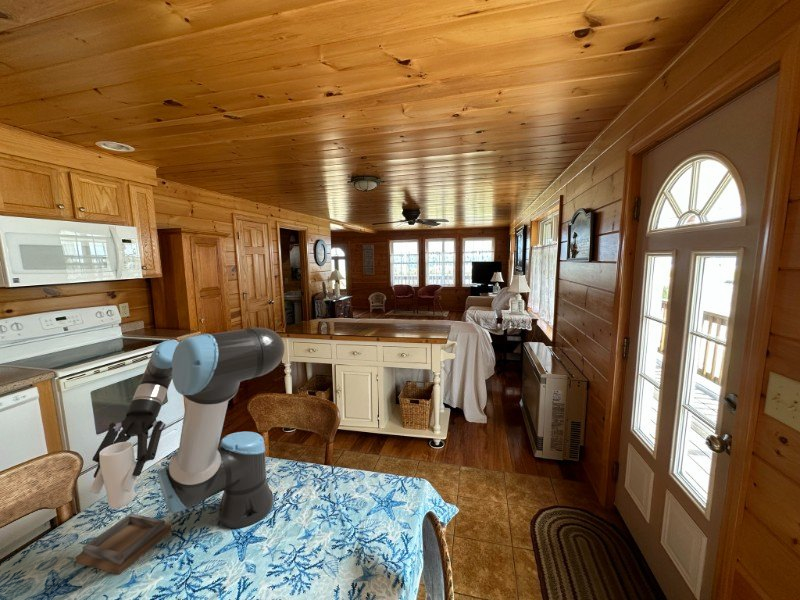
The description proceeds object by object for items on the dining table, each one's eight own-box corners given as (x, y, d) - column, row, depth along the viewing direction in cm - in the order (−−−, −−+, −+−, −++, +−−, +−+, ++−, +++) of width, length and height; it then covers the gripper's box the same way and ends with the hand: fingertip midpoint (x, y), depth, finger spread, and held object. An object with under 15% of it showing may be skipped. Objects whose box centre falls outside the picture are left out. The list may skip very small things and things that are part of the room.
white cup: (119, 513, 83) (113, 457, 82) (97, 509, 85) (91, 454, 83) (145, 495, 90) (139, 442, 88) (124, 492, 91) (119, 440, 90)
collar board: (171, 530, 94) (170, 518, 93) (119, 574, 80) (117, 561, 80) (133, 521, 97) (132, 510, 97) (76, 562, 83) (74, 549, 83)
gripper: (187, 406, 102) (159, 491, 87) (118, 409, 100) (77, 497, 85) (177, 396, 96) (144, 485, 82) (103, 399, 94) (56, 491, 80)
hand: (110, 491), depth 84 cm, fingers closed on white cup, 7 cm apart
